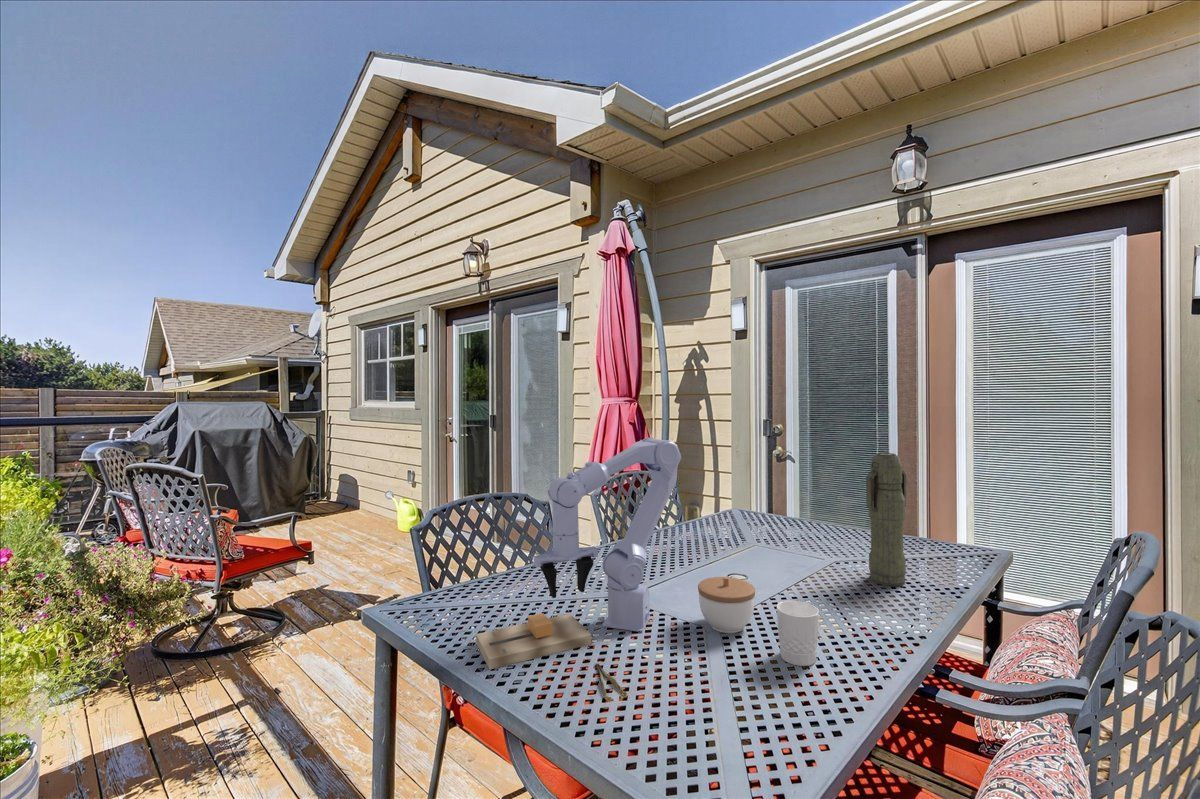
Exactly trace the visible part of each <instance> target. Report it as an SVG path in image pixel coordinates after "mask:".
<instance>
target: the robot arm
mask: <svg viewBox="0 0 1200 799" xmlns="http://www.w3.org/2000/svg"><path fill="white" fill-rule="evenodd" d="M681 460H682V454H681V452H680V449H679V447H678V445H677V444H676V443H675V442H674V441H673V440H669V439H668V440H666V439H665V440H664V439H659V438H653V437H644V439H642V440H639V441H636V442H635V443H634V444H632V445H630V446H629V447H627V448H626V449H624V450H622V451H621V452H619V453H617V454H615V455H614V456H612V457H611V458H608V459H607V460H606V461H604V462H602V463H600V462H598V461H593V462H591V461H588V462H587V461H586V462H585V463H584V465H585V466H584V467H582V468H579V469H577V470H575V471H574V472H572V471H568V473H566V475H567V476H566V477H562V476H561V477H557V478H555V479H553V481H552V483H550V485H549V489H547V495H548V497H549V499H550V500H551V502H552V506H551V507H552V516H551V517H552V551H548V552H546V553H542V554H539V555H534V556H533V566H535V568H539V569H541V572H542V574H543V576H544V579H545V581H546V584H547V587H548V592H549V596H550V597H551V598H552V599H556V598H557V575H558V569H557V568H556V567H555V565H554V564H558V563H565V562H573V561H575V566H576V576H577V577H576V578H577V580H576V582H577V585H576V586H577V590H578V591H579V592H580V593H584V592H585V590H586V589H585V588H586V584H587V580H588V576H589V575H590V571H591V570H592V568H593V566H594V559H593V558H598V557H599V555H598V554H599V553H598V552H599V550H598V548H597V547H595V546H585V547H584V546H583V547H580V536H579V533H580V532H579V531H580V530H579V529H580V527H579V504H580V502H581V501H582V499H583V497H585V496H587V495H588V494H590V493H592V492H594V491H596V490H598V489H600V488H601V487H603V486H606V485H607V484H608V480H609V478H610V477H611V476H613V475H615V474H617V473H620V472H621V471H624V470H626V469H627V468H629V467H632V466H633V465H637V464H643V465H644V466H645V468H646V469H647V470H648V473H649V475H650V478H651V481H650V484H649V486H648V488H647V489H646V492H645V494H644V496H643V498H642V501H641V502H640V504H639V507H638V509H637V510H636V512H635V514H634V517H633V519H632V520H631V523H630V525H629V527H628V529H627V531H626V533H625V534H624V537H623V538H622V539H621V540H619V541H618V542H616V543H615V544H614V546H613V548H612V549H611V550H610V551H609V552H608V553H607V554H606V555H605V557H604V558H603V560H602V570H603V573H604V574H605V575H606V576H607V611H608V612H607V615H608V616H607V617H606V619H605V620H604V622H603V623H602V627H603V628H611V629H617V630H624V631H631V632H632V631H633V632H638V633H639V631H640V633H642V632H643V631H644V630H645V628H646V626H647V624H648V623H649V621H650V619H651V615H650V611H651V610H650V590H649V587H648V586H645V585H643V584H642V585H641V582H642V581H643V579H644V573H645V566H646V564H647V562H648V561H647V557H646V556H647V555H646V551H645V550H646V548H647V546H648V543H649V541H650V539H651V536H652V534H653V532H654V530H655V528H656V527H657V524H658V522H659V519H661V516H662V513H663V512H664V509H665V507H666V505H667V503H668V501H669V499H670V496H671V495H672V493H673V490H674V488H675V487H676V484H677V480H678V479H677V478H678V465H679V464H680V462H681ZM641 631H642V632H641Z"/></svg>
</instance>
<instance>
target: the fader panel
mask: <svg viewBox="0 0 1200 799" xmlns="http://www.w3.org/2000/svg"><path fill="white" fill-rule="evenodd" d="M547 618H548V619H549V620H550V621H551V622H552V635H549V636H545V637H540V638H535V636H534V635H533V634H532V632H531V631H530V630H529V628H528V622H526V623H521V624H516V625H511V626H508V627H502V628H499V629H494V630H489V631H485V632H479V633H476V635H475V640H476V641H475V644H476V645H477V647H478V650H479V652H480V653H481V654H480V655H482V657H483V660H484V661H485V664H486V665H487V667H488V669H489V670H492V669H493V670H494V669H498V668H502V667H505V666H509V665H514V664H517V663H521V662H526V661H529V660H534V659H537V658H538V659H539V658H541V657H546V656H550V655H553V654H557V653H561V652H565V651H569V650H573V649H578V648H580V647H581V648H582V647H585V646H589V645H590V646H591V645H592V634H591V632H590V631H588V629H587V628H585V627H584V626H583V625H582V623H581V622H579V620H577V619H576V618H575V617H574V616H573V615H572V613H568V614H562V615H558V616H553V617H547Z"/></svg>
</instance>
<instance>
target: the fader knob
mask: <svg viewBox="0 0 1200 799" xmlns="http://www.w3.org/2000/svg"><path fill="white" fill-rule="evenodd" d="M548 618H549V617H548V616H546V614H544V612H541V613H537V614H533V615H528V616H527V623H528V628H529V630H530V631H531V632H532V634H533V635H534V636H535V638H540V637H545V636H549V635H552V622H551V621H550V620H549V619H548Z"/></svg>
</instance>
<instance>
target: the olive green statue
mask: <svg viewBox="0 0 1200 799" xmlns="http://www.w3.org/2000/svg"><path fill="white" fill-rule="evenodd" d="M865 480H866V482H865V486H866V492H865V493H866V508H868V517H869V518H870V551H869V554H868V570H869V580H870V581H872V582H873V583H876V584H878V585H881V586H887V587H901V586H904V585H905V584H906V574H907V573H906V572H907V569H906V568H907V566H906V565H907V563H906V562H907V561H906V560H907V558H906V556H905V553H904V521H905V520H906V505H907V474H906V472H905V470H903V464H902V462H901V458H900V456H899V455H898V454H896V453H891V452H877V453H876V454H873V457H872V459H871V463H870V471H869V472H868V473H867V475H866V478H865Z"/></svg>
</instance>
